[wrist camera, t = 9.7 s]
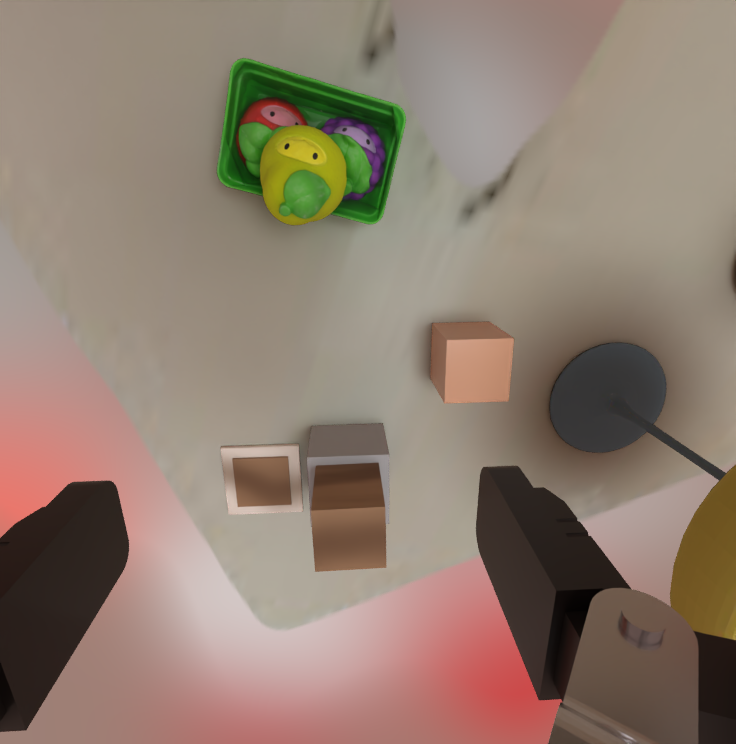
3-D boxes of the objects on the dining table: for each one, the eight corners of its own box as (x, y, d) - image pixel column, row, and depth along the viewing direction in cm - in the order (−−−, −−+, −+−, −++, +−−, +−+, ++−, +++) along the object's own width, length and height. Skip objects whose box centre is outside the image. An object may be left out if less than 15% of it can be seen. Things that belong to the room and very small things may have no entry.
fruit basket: (400, 122, 34) (426, 77, 24) (371, 241, 37) (383, 249, 26) (248, 78, 33) (203, 9, 22) (229, 205, 36) (180, 198, 25)
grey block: (311, 425, 42) (306, 457, 36) (382, 423, 42) (389, 454, 36) (315, 487, 44) (311, 527, 38) (383, 484, 44) (389, 523, 38)
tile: (221, 446, 42) (219, 450, 41) (298, 443, 42) (298, 447, 41) (229, 512, 44) (228, 516, 43) (303, 509, 44) (302, 513, 44)
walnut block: (315, 465, 36) (310, 510, 31) (378, 462, 37) (385, 506, 31) (319, 519, 38) (315, 571, 32) (379, 515, 38) (386, 567, 32)
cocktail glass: (486, 469, 44) (655, 758, 20) (546, 282, 39) (869, 379, 15) (657, 496, 46) (992, 789, 22) (736, 322, 41) (1287, 464, 17)
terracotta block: (431, 322, 39) (447, 340, 34) (489, 321, 40) (513, 338, 34) (430, 378, 41) (444, 403, 35) (485, 376, 41) (508, 401, 35)
